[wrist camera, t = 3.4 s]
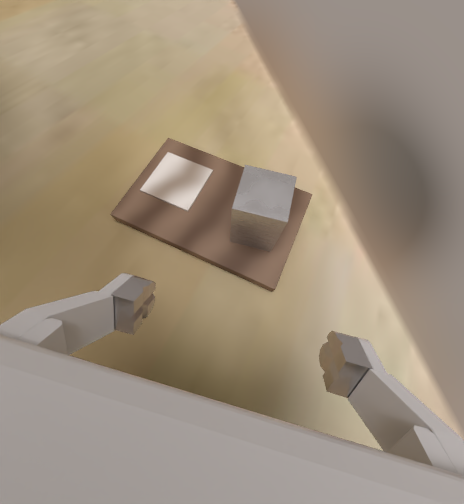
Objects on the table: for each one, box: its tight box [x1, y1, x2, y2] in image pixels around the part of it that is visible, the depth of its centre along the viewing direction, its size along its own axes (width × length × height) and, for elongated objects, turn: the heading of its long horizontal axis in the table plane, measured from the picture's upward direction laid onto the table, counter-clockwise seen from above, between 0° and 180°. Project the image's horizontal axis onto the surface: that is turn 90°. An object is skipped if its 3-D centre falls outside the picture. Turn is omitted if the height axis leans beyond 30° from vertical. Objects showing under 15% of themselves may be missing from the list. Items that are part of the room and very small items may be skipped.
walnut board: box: [111, 138, 312, 291], centre depth 26 cm, size 22×14×8 cm, turn 65°
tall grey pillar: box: [230, 165, 296, 252], centre depth 23 cm, size 5×5×8 cm
